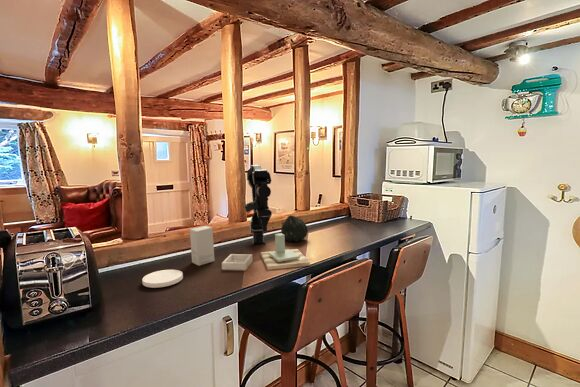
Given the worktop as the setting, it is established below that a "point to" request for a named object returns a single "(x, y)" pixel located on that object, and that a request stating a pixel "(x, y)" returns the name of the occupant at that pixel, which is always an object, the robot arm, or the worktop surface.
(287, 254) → the sage lid
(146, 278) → the plastic lid
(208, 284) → the worktop surface
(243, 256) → the tray
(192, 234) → the skincare box
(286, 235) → the squash
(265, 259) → the birch board
